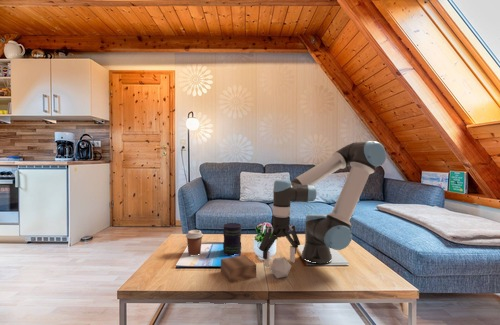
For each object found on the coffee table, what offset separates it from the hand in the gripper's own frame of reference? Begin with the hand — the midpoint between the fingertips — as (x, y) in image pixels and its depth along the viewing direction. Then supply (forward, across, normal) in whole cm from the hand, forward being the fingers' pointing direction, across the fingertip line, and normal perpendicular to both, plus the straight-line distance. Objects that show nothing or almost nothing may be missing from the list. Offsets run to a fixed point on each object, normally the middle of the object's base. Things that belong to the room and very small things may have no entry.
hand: (279, 263), depth 117 cm
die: (+6, -1, 0) cm, 6 cm away
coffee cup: (+6, +25, -43) cm, 50 cm away
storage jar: (+6, +6, -36) cm, 37 cm away
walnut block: (+6, +15, -10) cm, 19 cm away
